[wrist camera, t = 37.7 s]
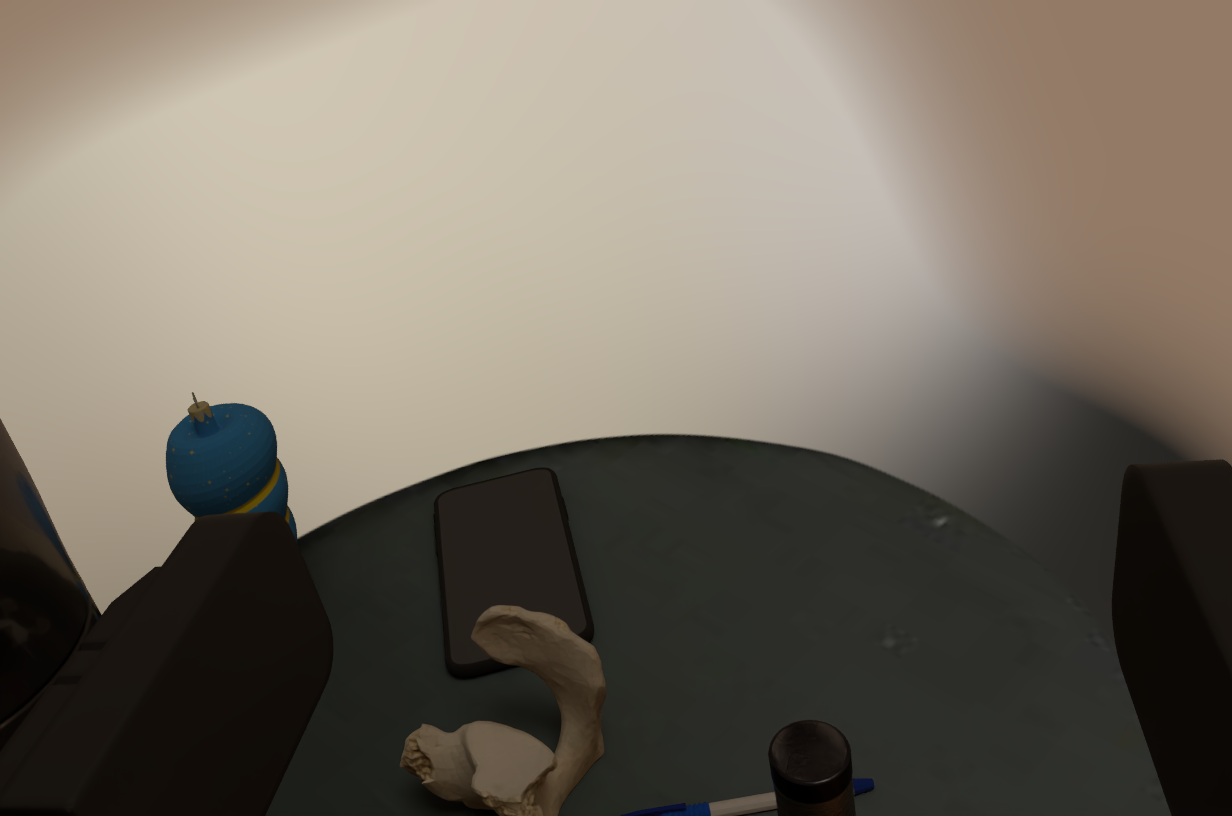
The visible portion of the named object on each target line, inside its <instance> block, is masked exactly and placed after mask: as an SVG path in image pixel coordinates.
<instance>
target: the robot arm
mask: <svg viewBox="0 0 1232 816" xmlns="http://www.w3.org/2000/svg"><path fill="white" fill-rule="evenodd" d="M1112 620H1113V630H1114V637H1115V644H1116V649H1117V654H1118V658H1119V662H1120V666H1121V669H1122V672H1123V675H1124V678H1125V681H1126V684H1127V687H1128V690H1129V692H1130V695H1131V698H1132V701H1133V704H1134V707H1135V710H1136V713H1137V716H1138V719H1139V722H1140V725H1141V728H1142V730H1143V733H1144V736H1145V739H1146V742H1147V745H1148V748H1149V751H1150V754H1151V757H1152V760H1153V763H1154V766H1155V768H1156V771H1157V774H1158V777H1159V780H1160V783H1161V786H1162V789H1163V792H1164V795H1165V798H1166V801H1167V804H1168V806H1169V809H1170V812H1171V815H1172V816H1232V467H1231V465H1230V464H1229V463H1228V462H1227V461H1225V460H1204V461H1187V462H1169V463H1152V464H1135V465H1129V466H1128V467H1127V469H1126V471H1125V474H1124V479H1123V485H1122V493H1121V504H1120V515H1119V526H1118V537H1117V548H1116V559H1115V570H1114V580H1113V591H1112ZM332 661H333V636H332V629H331V625H330V622H329V619H328V616H327V614H326V611H325V609H324V607H323V604H322V602H321V599H320V597H319V595H318V592H317V590H316V587H315V585H314V583H313V580H312V578H311V575H310V573H309V571H308V568H307V566H306V563H305V561H304V559H303V556H302V554H301V551H300V549H299V547H298V544H297V542H296V539H295V537H294V535H293V532H292V530H291V528H290V526H289V524H288V522H287V521H286V519H285V518H284V517H283V516H282V515H280V514H279V513H277V512H273V511H269V512H252V513H234V514H217V515H205V516H202V517H200V518H198V519H197V520H196V521H195V522H194V523H193V524H192V525H191V526H190V528H189V529H188V530H187V532H186V533H185V535H184V536H183V537H182V539H181V540H180V542H179V543H178V544H177V546H176V547H175V549H174V550H173V551H172V553H171V554H170V555H169V557H168V558H167V560H166V561H165V562H164V564H163V565H162V567H155V568H153V569H152V570H151V571H150V572H148V573H147V574H146V575H145V576H144V577H142V578H141V579H140V580H139V581H137V582H136V583H135V584H134V585H133V586H132V587H130V588H129V589H128V590H126V591H125V592H124V593H123V594H121V595H120V596H119V597H118V598H116V599H115V600H114V601H113V602H112V603H111V604H110V605H109V606H108V608H107V609H106V610H105V612H104V613H103V614H102V615H101V613H100V612H99V610H98V608H97V606H96V604H95V602H94V601H93V599H92V597H91V595H90V594H89V592H88V590H87V588H86V586H85V584H84V582H83V580H82V578H81V577H80V575H79V573H78V571H77V570H76V568H75V566H74V564H73V562H72V561H71V559H70V557H69V555H68V554H67V552H66V549H65V547H64V545H63V544H62V542H61V539H60V537H59V535H58V533H57V531H56V529H55V527H54V524H53V522H52V520H51V518H50V516H49V514H48V511H47V509H46V507H45V505H44V503H43V500H42V498H41V496H40V494H39V492H38V490H37V488H36V486H35V484H34V482H33V480H32V478H31V476H30V474H29V472H28V470H27V468H26V466H25V464H24V462H23V460H22V458H21V456H20V454H19V453H18V451H17V449H16V447H15V445H14V443H13V441H12V440H11V438H10V436H9V434H8V432H7V430H6V428H5V427H4V425H3V423H2V421H1V419H0V816H265V815H266V813H267V811H268V808H269V806H270V804H271V802H272V800H273V798H274V796H275V793H276V791H277V789H278V787H279V785H280V783H281V781H282V778H283V776H284V774H285V772H286V770H287V768H288V766H289V763H290V761H291V759H292V757H293V755H294V753H295V751H296V748H297V746H298V744H299V742H300V740H301V738H302V736H303V733H304V731H305V729H306V727H307V725H308V723H309V721H310V718H311V716H312V714H313V712H314V710H315V708H316V706H317V703H318V701H319V699H320V697H321V695H322V693H323V691H324V688H325V686H326V684H327V681H328V679H329V675H330V672H331V667H332Z"/></svg>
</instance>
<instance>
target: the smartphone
mask: <svg viewBox="0 0 1232 816" xmlns="http://www.w3.org/2000/svg"><path fill="white" fill-rule="evenodd" d="M434 511H435V514H434V523H435V525H434V526H435V538H436V553H437V556H438V564H439V577H440V590H441V603H442V616H443V629H444V642H445V654H446V664H447V667H448V669H449V670H450V672H451V673H452V674H454V675H456V676H461V677H469V676H475V675H479V674H483V673H487V672H491V671H495V670H499V669H503V668H507V667H510V666H514V665H508V664H504V663H501V662H497V661H495V660H494V659H492V658H490V657H489V656H487V655H486V654H485V652H484V651H483V650H481V649H480V647H479V646H478V645H477V644H476V643H475V642H474V641H473V640H472V639H471V635H472V632H473V629H474V627H475V625H476V622H477V620H478V618H479V617H480V616H481V615H482V614H483V613H484V612H485V611H486V610H488V609H489V608H490V607H492V606H497V605H505V606H519V607H521V608H523V609H525V610H528V611H531V612H542V613H546V614H550V615H552V616H555V617H557V618H559V619H560V620H562V621H564V622H565V623H566V624H567V625H568V627H569V628H570V630H571V631H572V632H573V633H575V634H576V635H577V636H579V637H580V638H582V639H583V640H585V641H587V642H589V641H590V640H591V639H592V637H593V634H594V624H593V620H592V616H591V612H590V608H589V604H588V600H587V596H586V592H585V588H584V584H583V580H582V576H581V572H580V567H579V563H578V559H577V555H576V551H575V547H574V543H573V539H572V535H571V531H570V527H569V523H568V521H569V520H568V514H567V510H566V506H565V502H564V499H563V497H562V495H561V491H560V487H559V483H558V479H557V476H556V474H555V472H554V471H553V470H551V469H549V468H534V469H530V470H526V471H522V472H518V473H514V474H510V475H506V476H502V477H498V478H493V479H489V480H485V481H481V482H477V483H473V484H469V485H465V486H461V487H457V488H453V489H450V490H447V491H445V492H443V493H441V494H440V495H438V496H437V498H436V500H435V502H434Z"/></svg>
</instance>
